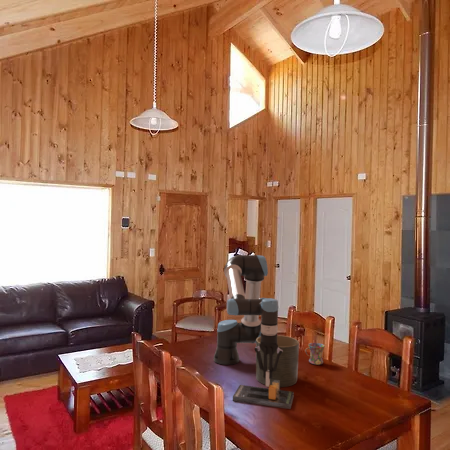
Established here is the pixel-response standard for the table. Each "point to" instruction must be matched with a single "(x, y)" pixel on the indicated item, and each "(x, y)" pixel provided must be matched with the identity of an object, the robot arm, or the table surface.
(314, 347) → the mug
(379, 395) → the table surface
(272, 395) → the handle
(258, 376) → the planter
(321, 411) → the table surface
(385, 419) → the table surface
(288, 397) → the panel
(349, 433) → the table surface
